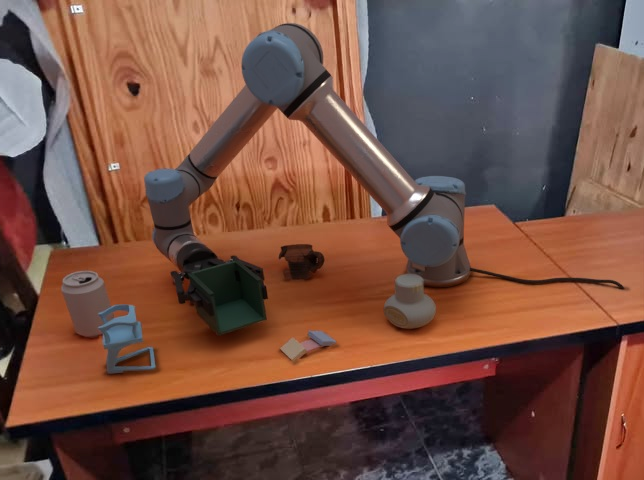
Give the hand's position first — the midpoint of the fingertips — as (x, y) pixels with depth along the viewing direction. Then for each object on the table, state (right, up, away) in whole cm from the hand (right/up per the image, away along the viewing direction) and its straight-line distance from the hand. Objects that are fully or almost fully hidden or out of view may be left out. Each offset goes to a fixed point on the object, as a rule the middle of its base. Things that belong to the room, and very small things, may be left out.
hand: (239, 301), depth 129 cm
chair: (-20, -12, -1) cm, 23 cm away
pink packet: (+12, -8, +5) cm, 15 cm away
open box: (-4, -2, +7) cm, 8 cm away
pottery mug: (+5, +9, +33) cm, 34 cm away
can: (-32, -5, +9) cm, 34 cm away
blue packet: (+15, -6, +7) cm, 17 cm away
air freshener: (+31, -3, +15) cm, 35 cm away
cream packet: (+9, -9, +3) cm, 13 cm away
